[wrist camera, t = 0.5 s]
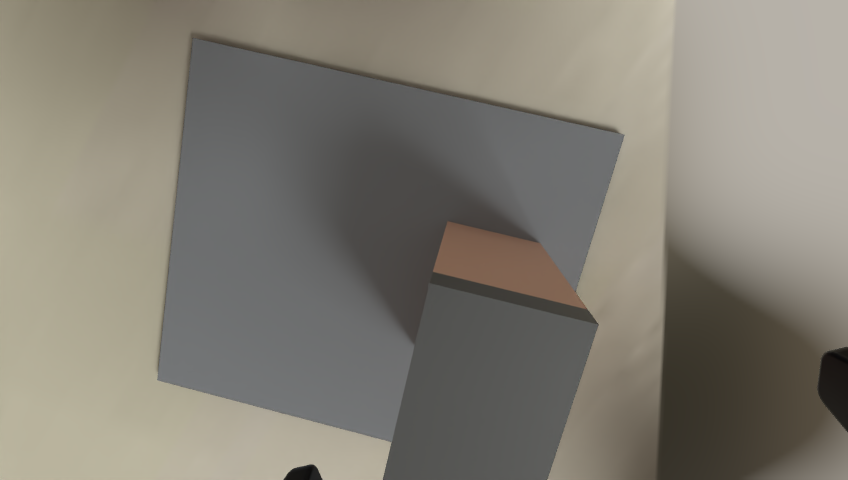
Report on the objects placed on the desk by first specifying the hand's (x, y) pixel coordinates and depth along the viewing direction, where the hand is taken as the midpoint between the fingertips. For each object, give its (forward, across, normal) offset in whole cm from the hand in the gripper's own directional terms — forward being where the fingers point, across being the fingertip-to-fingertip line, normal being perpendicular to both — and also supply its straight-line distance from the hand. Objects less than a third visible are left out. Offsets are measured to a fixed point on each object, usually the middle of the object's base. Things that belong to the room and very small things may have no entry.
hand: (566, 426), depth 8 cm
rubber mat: (+13, +5, +2) cm, 14 cm away
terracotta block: (+11, 0, +4) cm, 12 cm away
